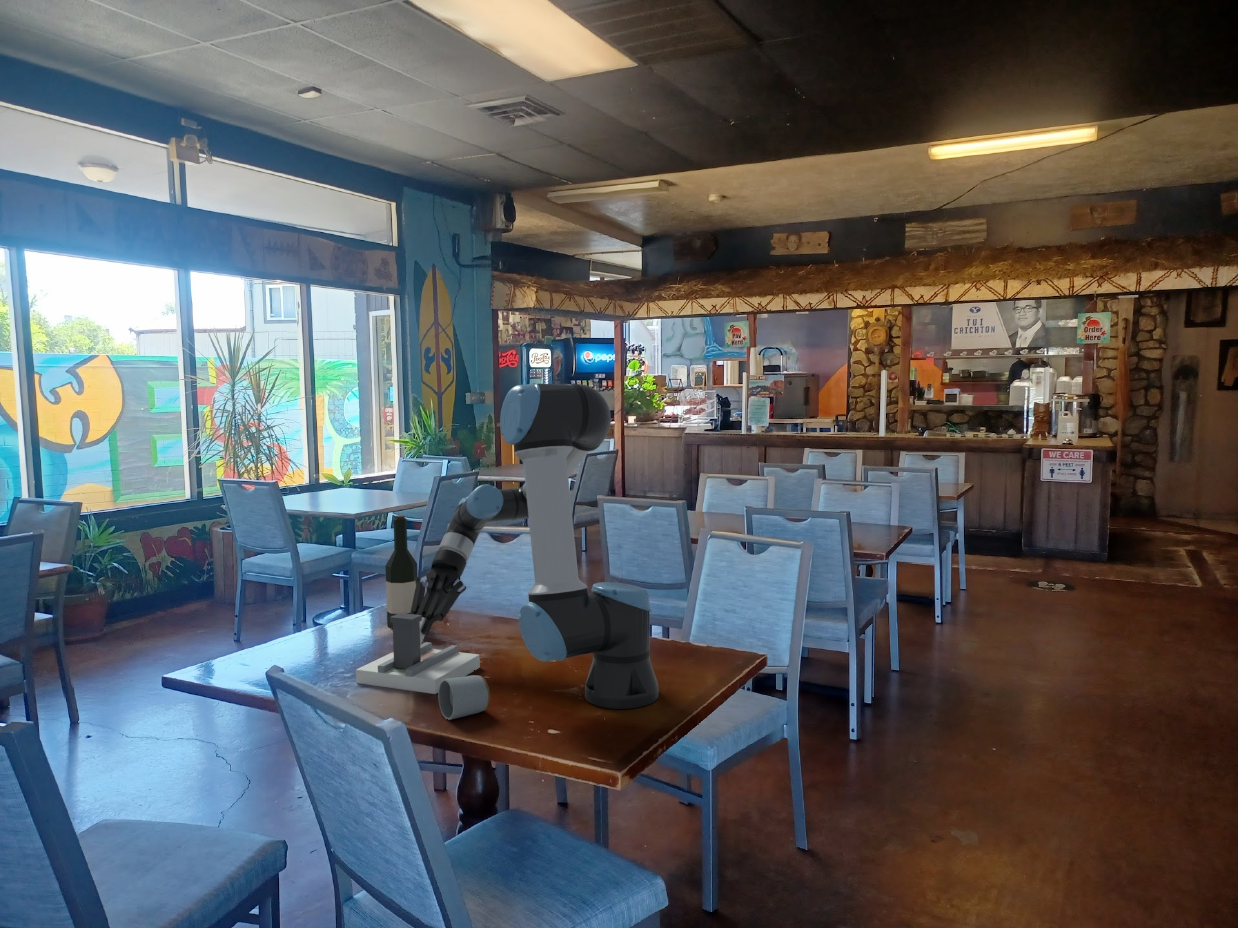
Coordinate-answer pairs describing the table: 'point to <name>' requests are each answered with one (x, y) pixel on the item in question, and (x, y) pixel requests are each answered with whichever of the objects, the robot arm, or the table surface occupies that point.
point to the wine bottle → (400, 573)
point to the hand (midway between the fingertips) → (413, 646)
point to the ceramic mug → (463, 696)
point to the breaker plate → (419, 669)
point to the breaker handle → (406, 639)
